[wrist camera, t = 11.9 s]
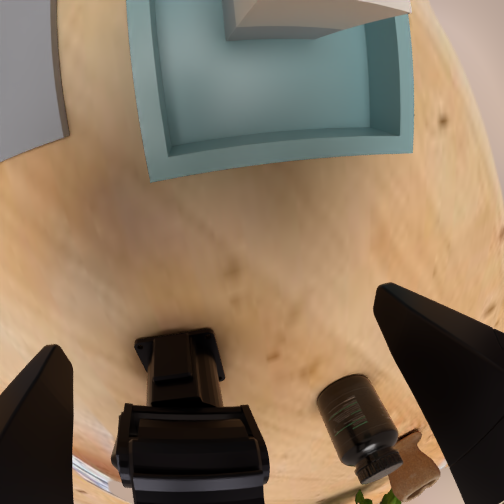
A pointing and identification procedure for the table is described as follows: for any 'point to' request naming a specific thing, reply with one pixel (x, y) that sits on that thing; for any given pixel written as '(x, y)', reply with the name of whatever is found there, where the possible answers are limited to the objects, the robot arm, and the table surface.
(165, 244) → the table surface
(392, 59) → the bin
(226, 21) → the beige rectangular block
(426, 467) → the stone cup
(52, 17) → the stud base
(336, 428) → the supplement bottle
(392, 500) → the indoor plant
